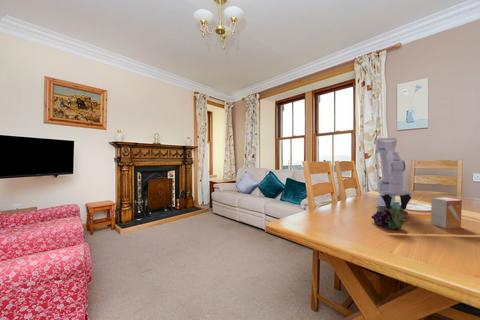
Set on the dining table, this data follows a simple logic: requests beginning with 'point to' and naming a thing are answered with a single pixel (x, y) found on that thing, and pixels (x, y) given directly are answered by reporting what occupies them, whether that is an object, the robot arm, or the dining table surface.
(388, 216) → the fruit
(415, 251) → the dining table surface
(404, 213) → the block
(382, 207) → the board
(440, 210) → the small box
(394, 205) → the dowel
